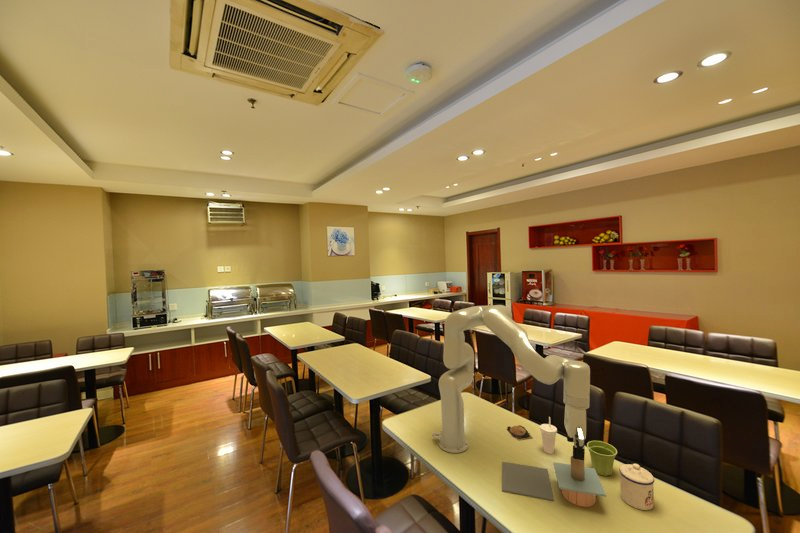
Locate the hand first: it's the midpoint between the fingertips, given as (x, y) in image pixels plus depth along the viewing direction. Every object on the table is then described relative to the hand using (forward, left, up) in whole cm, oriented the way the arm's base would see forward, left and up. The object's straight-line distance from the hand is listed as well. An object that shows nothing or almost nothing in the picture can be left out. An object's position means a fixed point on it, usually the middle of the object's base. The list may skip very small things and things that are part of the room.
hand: (575, 450), depth 106 cm
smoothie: (-5, +24, -15) cm, 29 cm away
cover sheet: (+1, 0, -10) cm, 10 cm away
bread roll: (-16, +35, -16) cm, 41 cm away
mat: (-15, +3, -15) cm, 22 cm away
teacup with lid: (+19, +4, -15) cm, 24 cm away
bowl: (+1, 0, -15) cm, 15 cm away
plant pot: (+12, +16, -15) cm, 25 cm away
